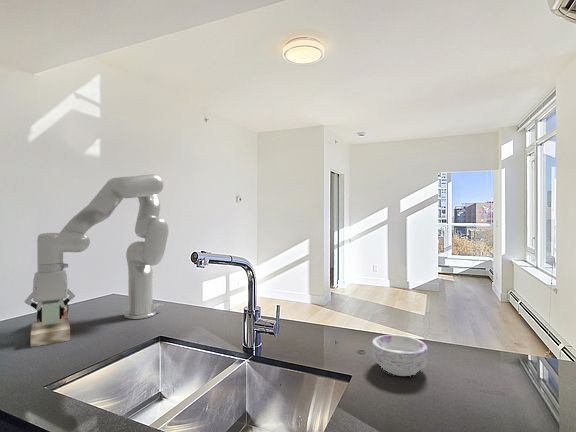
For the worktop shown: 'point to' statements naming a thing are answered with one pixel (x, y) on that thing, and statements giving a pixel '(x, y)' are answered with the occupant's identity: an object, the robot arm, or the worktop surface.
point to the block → (50, 312)
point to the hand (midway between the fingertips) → (50, 318)
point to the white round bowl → (399, 354)
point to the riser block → (50, 333)
